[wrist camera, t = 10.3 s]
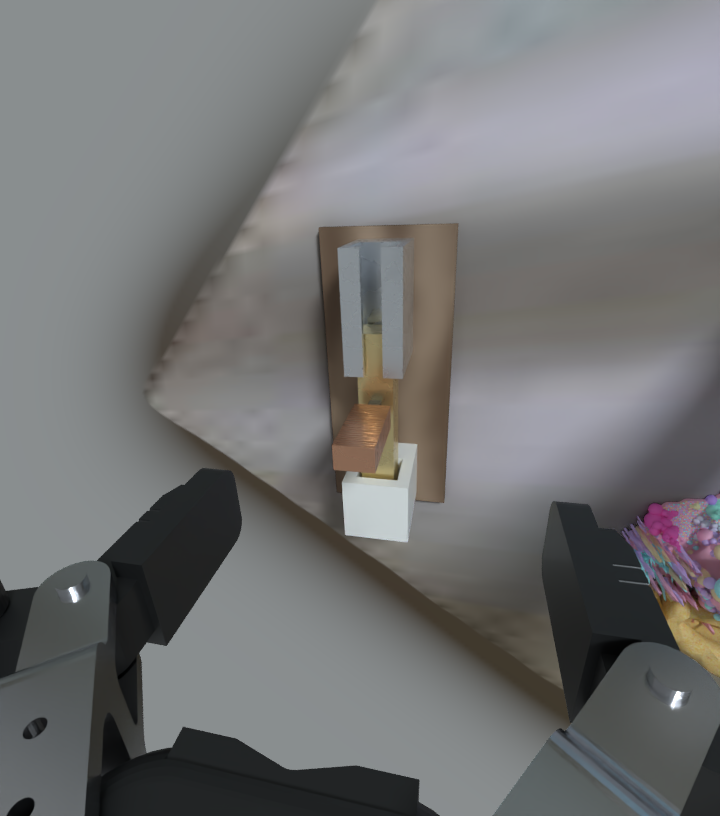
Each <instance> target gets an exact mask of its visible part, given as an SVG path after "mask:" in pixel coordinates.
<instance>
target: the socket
mask: <svg viewBox="0 0 720 816" xmlns="http://www.w3.org/2000/svg"><path fill="white" fill-rule="evenodd" d="M416 489H417V444H408V443H398V480H387V479H376V478H365V477H362V474H361V472H352V471H347V472H346V474H345V476H344V479H343V481H342V493H343V509H344V525H345V535H350V536H358V537H367V538H375V539H384V540H392V541H401V542H408V538H409V532H410V526H411V521H412V515H413V509H414V503H415V498H416Z"/></svg>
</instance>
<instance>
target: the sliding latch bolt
mask: <svg viewBox="0 0 720 816" xmlns="http://www.w3.org/2000/svg"><path fill="white" fill-rule="evenodd" d="M363 334H364V363H365V375H364V377H358V400H359V404H354V405H353V407H352V409H351V411H350V413H349V415H348V416H347V418H346V420H345V422H344V424H343V426H342V427H341V429H340V431H339V433H338V435H337V437H336V438H335V440H334V442H333V444H332V454H333V468H334V470H340V471H352V472H361V474H362V477H365V478H376V479H387V480H398V379H389V378H383V358H382V325H381V324H363Z"/></svg>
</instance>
